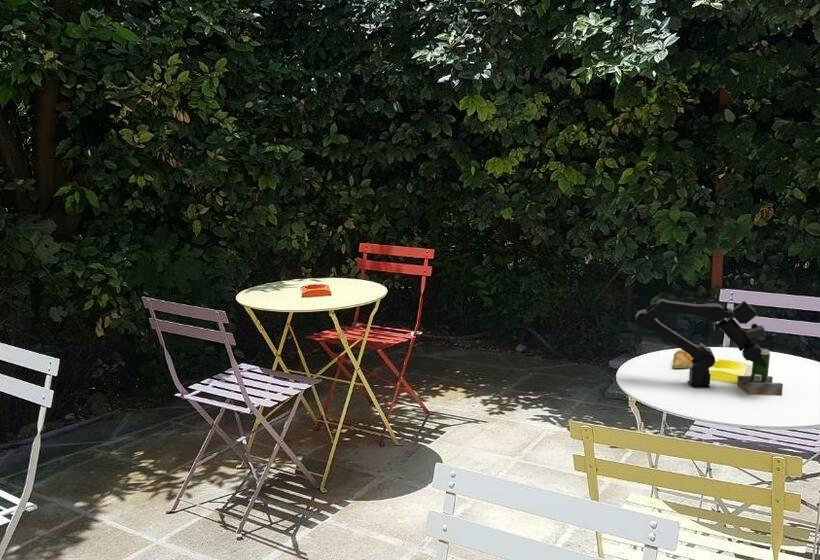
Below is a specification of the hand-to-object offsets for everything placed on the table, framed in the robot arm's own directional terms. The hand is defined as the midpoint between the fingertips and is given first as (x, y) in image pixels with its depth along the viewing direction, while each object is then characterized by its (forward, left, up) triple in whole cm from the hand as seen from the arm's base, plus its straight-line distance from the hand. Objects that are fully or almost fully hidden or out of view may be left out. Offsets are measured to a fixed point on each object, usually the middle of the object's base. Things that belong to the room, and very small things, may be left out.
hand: (764, 364), depth 263 cm
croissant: (-17, +34, -10) cm, 39 cm away
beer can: (-1, 0, -7) cm, 7 cm away
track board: (-1, 0, -10) cm, 10 cm away
